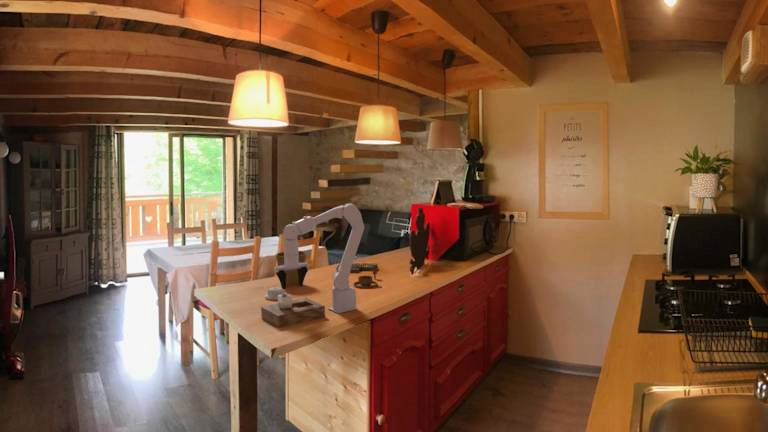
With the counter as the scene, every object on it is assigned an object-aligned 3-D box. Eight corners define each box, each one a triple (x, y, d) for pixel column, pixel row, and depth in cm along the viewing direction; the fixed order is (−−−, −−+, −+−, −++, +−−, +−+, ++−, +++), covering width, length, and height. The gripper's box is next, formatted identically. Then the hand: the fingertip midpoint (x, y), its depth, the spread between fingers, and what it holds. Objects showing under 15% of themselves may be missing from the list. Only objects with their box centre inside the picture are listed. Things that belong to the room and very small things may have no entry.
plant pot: (283, 280, 250) (282, 250, 249) (310, 281, 248) (309, 251, 246) (272, 287, 236) (271, 255, 234) (301, 288, 233) (300, 256, 232)
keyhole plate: (306, 308, 201) (306, 297, 201) (325, 316, 190) (324, 305, 189) (261, 317, 189) (261, 306, 189) (278, 327, 177) (277, 315, 177)
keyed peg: (288, 313, 190) (287, 293, 190) (294, 316, 186) (293, 295, 186) (276, 316, 187) (275, 295, 186) (282, 319, 183) (281, 298, 183)
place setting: (344, 285, 241) (344, 274, 241) (374, 279, 255) (374, 268, 254) (367, 292, 228) (367, 279, 228) (397, 284, 242) (397, 273, 241)
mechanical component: (280, 293, 226) (261, 297, 219) (280, 284, 225) (260, 288, 219) (291, 297, 218) (271, 302, 212) (291, 288, 218) (271, 292, 211)
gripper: (302, 250, 201) (303, 282, 202) (270, 254, 192) (271, 288, 194) (310, 253, 196) (311, 285, 197) (278, 257, 187) (279, 291, 188)
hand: (292, 287), depth 195 cm, fingers open, 7 cm apart
